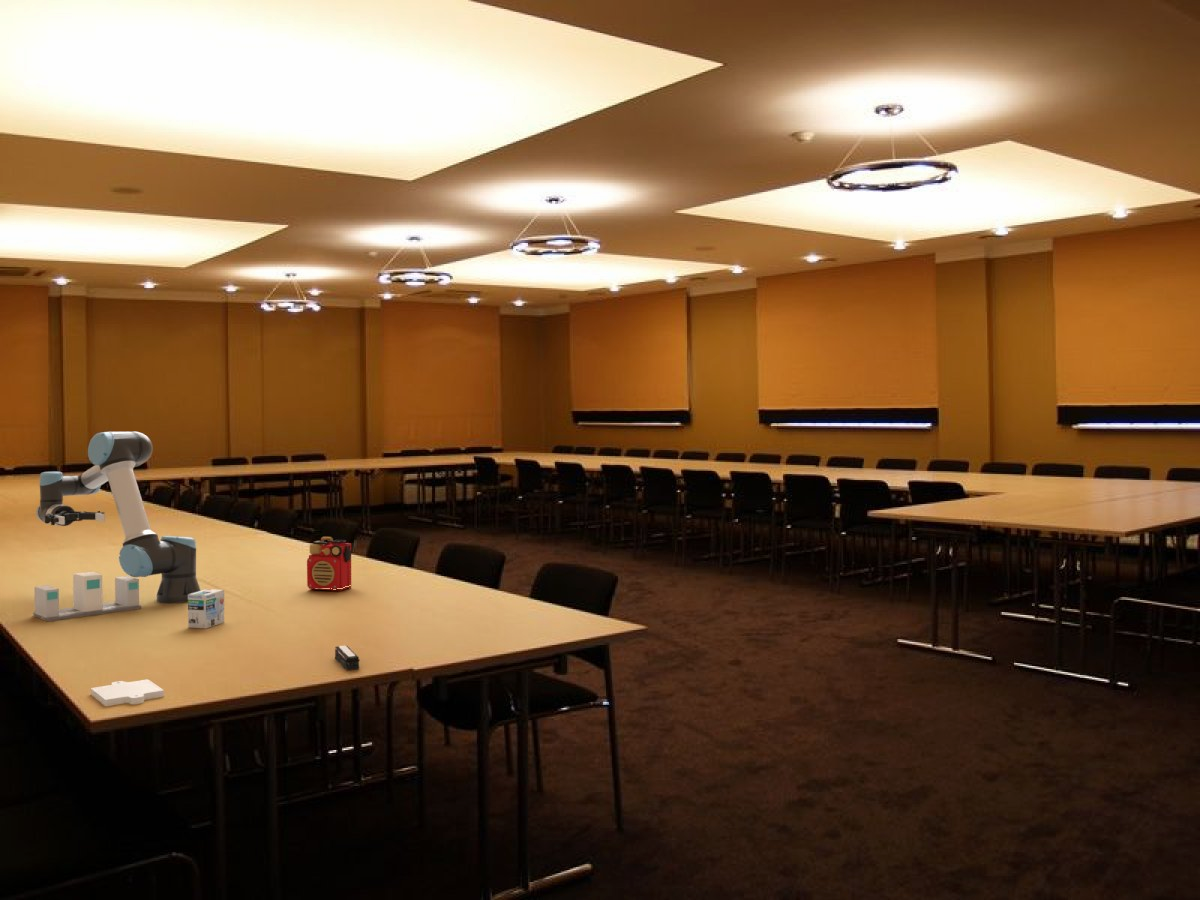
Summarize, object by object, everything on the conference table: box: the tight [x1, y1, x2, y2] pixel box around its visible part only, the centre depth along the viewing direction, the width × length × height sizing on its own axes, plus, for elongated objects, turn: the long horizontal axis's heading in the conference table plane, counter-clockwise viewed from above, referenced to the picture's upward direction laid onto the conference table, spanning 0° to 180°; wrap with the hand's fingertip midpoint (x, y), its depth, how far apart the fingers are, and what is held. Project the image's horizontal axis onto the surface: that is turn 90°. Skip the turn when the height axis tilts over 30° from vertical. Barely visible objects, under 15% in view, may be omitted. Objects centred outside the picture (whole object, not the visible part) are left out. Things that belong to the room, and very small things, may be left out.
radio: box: [306, 536, 352, 592], centre depth 386 cm, size 16×10×20 cm, turn 76°
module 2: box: [114, 575, 140, 607], centre depth 349 cm, size 4×10×9 cm, turn 48°
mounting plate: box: [90, 678, 165, 707], centre depth 239 cm, size 18×13×2 cm
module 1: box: [34, 584, 60, 618], centre depth 330 cm, size 4×10×9 cm, turn 48°
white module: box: [72, 571, 104, 612], centre depth 339 cm, size 6×9×12 cm, turn 48°
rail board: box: [32, 601, 142, 622], centre depth 339 cm, size 30×13×1 cm, turn 138°
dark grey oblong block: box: [334, 645, 360, 671], centre depth 273 cm, size 14×25×4 cm, turn 26°
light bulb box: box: [187, 588, 225, 629], centre depth 320 cm, size 11×7×11 cm, turn 168°
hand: (83, 519), depth 355 cm, fingers open, 13 cm apart
